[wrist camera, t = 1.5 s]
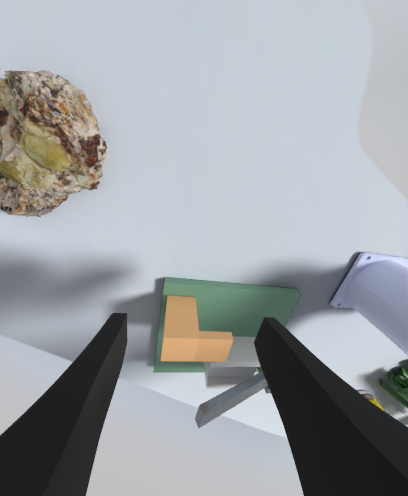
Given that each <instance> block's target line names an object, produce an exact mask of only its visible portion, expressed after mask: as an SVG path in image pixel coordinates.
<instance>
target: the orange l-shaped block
mask: <svg viewBox="0 0 408 496" xmlns="http://www.w3.org/2000/svg"><path fill="white" fill-rule="evenodd" d="M233 340H234V339H233V336H232V332H217V331H199V325H198V316H197V307H196V298H195V297H186V296H172V295H168V296H167V304H166V311H165V320H164V330H163V341H162V351H161V361H200V362H226V359H227V357H228V354H229V351H230V348H231V346H232V343H233Z"/></svg>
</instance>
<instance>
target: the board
mask: <svg viewBox="0 0 408 496" xmlns="http://www.w3.org/2000/svg"><path fill="white" fill-rule="evenodd" d="M168 295H172V296H186V297H195V298H196V307H197V316H198V325H199V331H217V332H232V336H233V339H234V340H233V343H232V346H231V348H230V351H229V354H228V357H227V359H226V362H200V361H161V351H162V341H163V330H164V320H165V311H166V304H167V296H168ZM300 296H301V293H300V292H299V291H298V290H297V289H294V288H283V287H271V286H260V285H249V284H237V283H226V282H215V281H203V280H192V279H181V278H169V277H165V281H164V289H163V298H162V306H161V314H160V323H159V331H158V339H157V348H156V356H155V365H154V372H205V378H206V386H207V389H209V388H232V387H234V386H236V385H238V384H239V383H241V382H243V381H245V380H247V379H249V378H250V377H252V376H253V375H254V373H255V372H259V373H260V372H261V371H262V369H261V366H260V363H259V360H258V357H257V353H256V349H255V345H254V341H255V338H256V336H257V333H258V331H259V329H260V326H261V324H262V321H263V319H264V317H274V318H275V319H276V320H278V321H279V322H280V323H281V324H282V325H283V326H284V327H285V325H286V323H287V321H288V319H289V318H290V316H291V314H292V312H293V310H294V308H295V306H296V304H297V302H298V300H299V298H300ZM264 389H265V391H266V393H271V391H270V389H269V386H267V387H265V388H264Z"/></svg>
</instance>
